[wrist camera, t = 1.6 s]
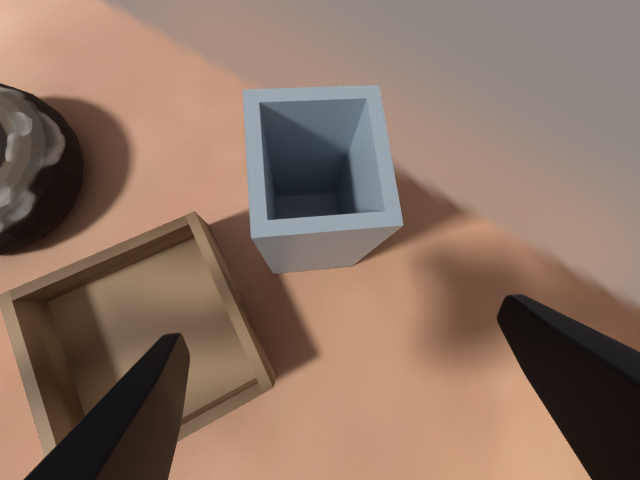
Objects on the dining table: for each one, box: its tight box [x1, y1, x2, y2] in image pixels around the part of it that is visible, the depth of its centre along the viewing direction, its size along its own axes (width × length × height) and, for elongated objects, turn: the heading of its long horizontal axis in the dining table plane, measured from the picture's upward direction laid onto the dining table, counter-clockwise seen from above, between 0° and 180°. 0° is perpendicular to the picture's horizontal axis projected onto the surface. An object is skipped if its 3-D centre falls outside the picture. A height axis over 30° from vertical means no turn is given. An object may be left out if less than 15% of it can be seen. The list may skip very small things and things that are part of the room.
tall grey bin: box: [243, 85, 404, 274], centre depth 16 cm, size 6×6×10 cm
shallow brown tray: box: [0, 212, 277, 457], centre depth 18 cm, size 11×11×3 cm
